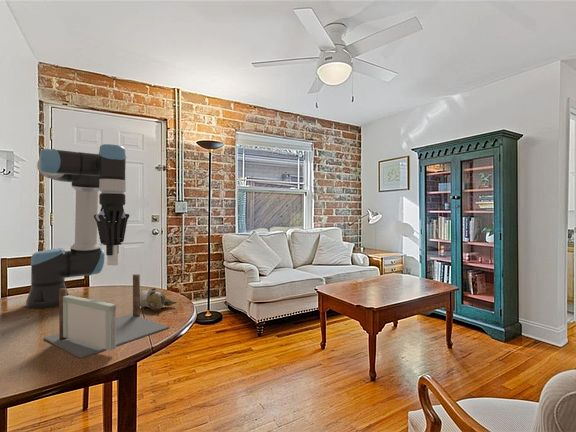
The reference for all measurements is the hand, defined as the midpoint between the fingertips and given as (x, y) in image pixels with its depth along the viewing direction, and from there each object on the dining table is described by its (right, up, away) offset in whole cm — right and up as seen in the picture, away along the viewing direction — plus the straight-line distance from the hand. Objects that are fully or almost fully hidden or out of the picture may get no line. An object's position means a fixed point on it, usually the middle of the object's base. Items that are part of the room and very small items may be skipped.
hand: (112, 264), depth 106 cm
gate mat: (-1, -23, 0) cm, 23 cm away
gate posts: (-6, -22, +6) cm, 24 cm away
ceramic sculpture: (+3, -23, +28) cm, 36 cm away
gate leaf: (-1, -21, -11) cm, 24 cm away
